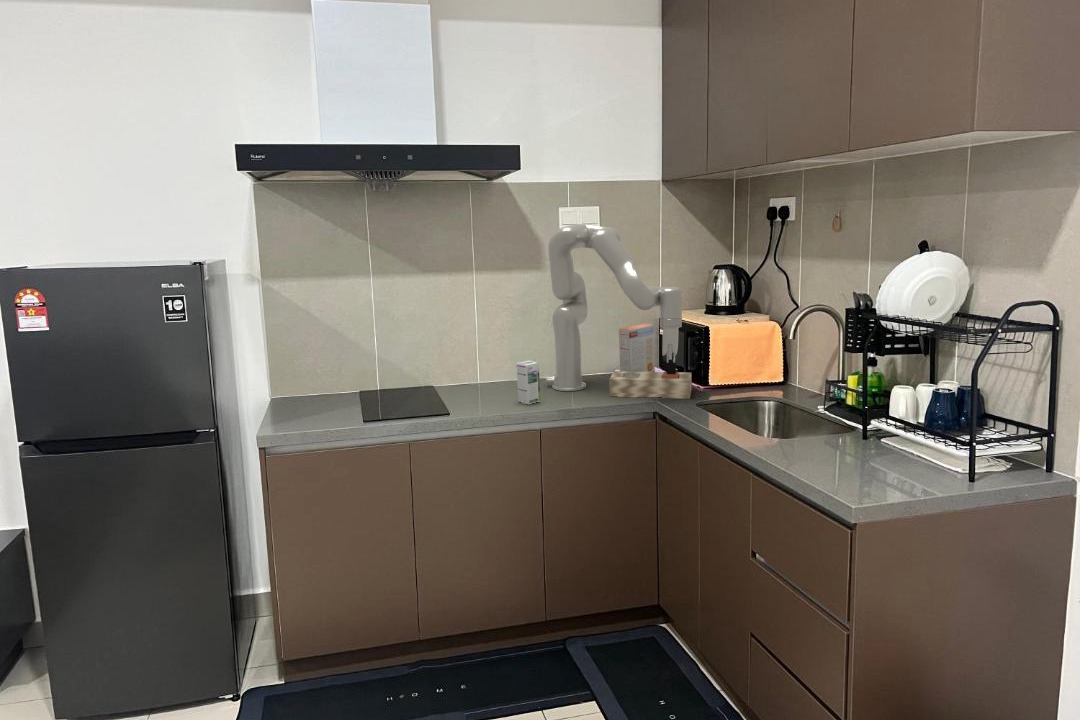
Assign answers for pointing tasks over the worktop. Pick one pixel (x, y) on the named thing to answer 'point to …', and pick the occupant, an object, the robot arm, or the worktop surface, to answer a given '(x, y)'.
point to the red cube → (671, 375)
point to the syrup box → (528, 381)
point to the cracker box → (637, 348)
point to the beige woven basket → (650, 385)
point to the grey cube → (631, 375)
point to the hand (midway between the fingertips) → (671, 373)
